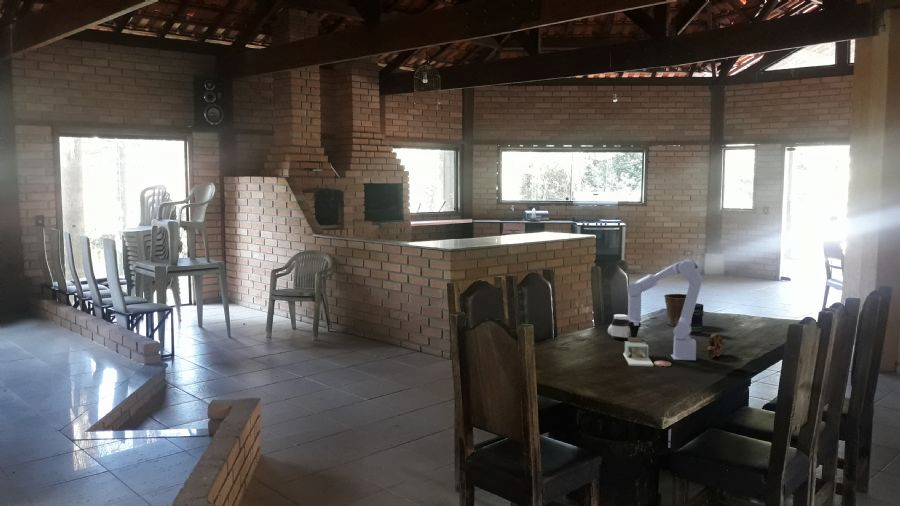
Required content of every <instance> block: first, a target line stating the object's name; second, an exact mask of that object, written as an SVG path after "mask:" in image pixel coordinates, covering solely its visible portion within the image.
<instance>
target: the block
mask: <svg viewBox="0 0 900 506" xmlns="http://www.w3.org/2000/svg"><path fill="white" fill-rule="evenodd" d="M629 353H630V355H629V357H634V358H643V356H642V353H643V348H639V347H630V349H629Z"/></svg>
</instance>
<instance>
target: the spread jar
mask: <svg viewBox="0 0 900 506" xmlns="http://www.w3.org/2000/svg"><path fill="white" fill-rule="evenodd" d="M625 318H628V314H622V313H621V314H620V313H618V314H617V313H616V314H613V319H612V321H611V324H610V325H609V326H608V328H607V334H609V335H610V336H611V337H612V338H613V339H614V340H620V341H626V340H628V338H630V335H631V334H630V328H629V325H628V323H627V322H630V321H629V320H625Z"/></svg>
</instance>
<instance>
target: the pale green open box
mask: <svg viewBox="0 0 900 506" xmlns="http://www.w3.org/2000/svg"><path fill="white" fill-rule="evenodd" d="M627 340H628V341H626V340H624V353H625V354H626V356H627V357H630V355H629V353H630V348H631V347H639V348H642V349H643V353H644V354H645V356H646V357H647V358H648V357H649V344H647V342H646V341H643V338H642V337H636V338H631V337H628V339H627Z"/></svg>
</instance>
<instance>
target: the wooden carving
mask: <svg viewBox="0 0 900 506" xmlns="http://www.w3.org/2000/svg"><path fill="white" fill-rule="evenodd" d="M708 343H709V346H707V354H708V358H715V357H720V356H721V355H722V353H723V351H724V347H723V345H724V343H725V342H724V341H723V338H722V336H721V335H720V334H719V333H718V334H716V333H715V334H711V335H710V337H708Z"/></svg>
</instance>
